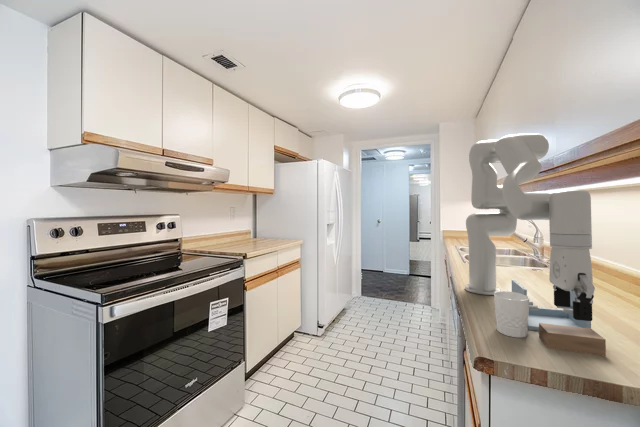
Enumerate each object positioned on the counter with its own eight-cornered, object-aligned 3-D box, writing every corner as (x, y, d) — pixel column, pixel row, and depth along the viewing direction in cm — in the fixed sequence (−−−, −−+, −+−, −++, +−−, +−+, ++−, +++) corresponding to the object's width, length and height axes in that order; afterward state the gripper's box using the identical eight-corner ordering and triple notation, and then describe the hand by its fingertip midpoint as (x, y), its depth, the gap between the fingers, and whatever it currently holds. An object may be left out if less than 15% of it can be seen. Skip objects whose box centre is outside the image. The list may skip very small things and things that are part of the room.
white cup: (523, 342, 69) (523, 302, 69) (489, 331, 76) (488, 294, 76) (534, 333, 74) (534, 296, 74) (501, 323, 80) (501, 289, 80)
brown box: (539, 338, 72) (538, 322, 72) (591, 344, 68) (591, 328, 68) (548, 349, 66) (548, 332, 66) (605, 357, 62) (605, 339, 62)
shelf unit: (511, 314, 87) (511, 279, 87) (570, 320, 82) (569, 283, 82) (523, 328, 77) (523, 289, 77) (591, 336, 72) (590, 294, 71)
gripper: (537, 238, 76) (538, 300, 76) (568, 244, 60) (569, 324, 60) (571, 238, 73) (573, 303, 73) (613, 245, 57) (615, 328, 57)
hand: (571, 312), depth 66 cm, fingers open, 9 cm apart
